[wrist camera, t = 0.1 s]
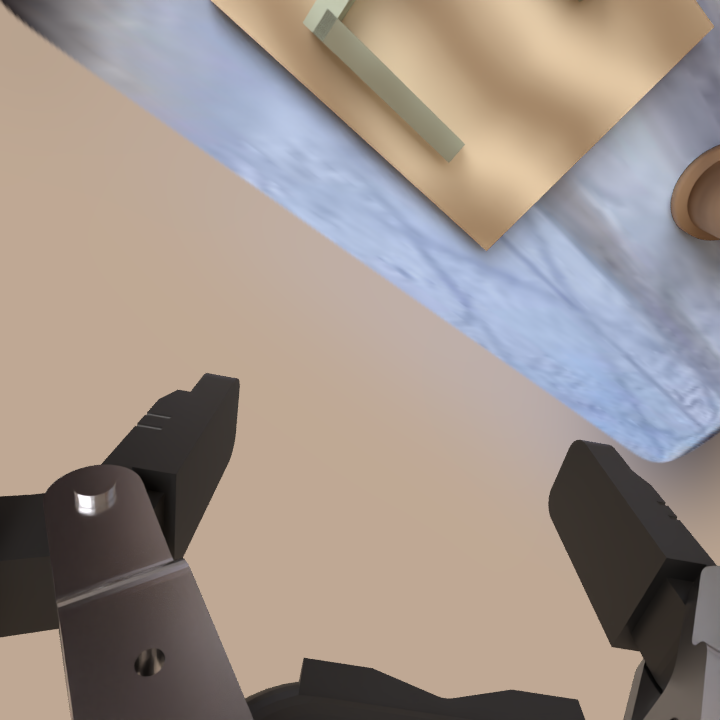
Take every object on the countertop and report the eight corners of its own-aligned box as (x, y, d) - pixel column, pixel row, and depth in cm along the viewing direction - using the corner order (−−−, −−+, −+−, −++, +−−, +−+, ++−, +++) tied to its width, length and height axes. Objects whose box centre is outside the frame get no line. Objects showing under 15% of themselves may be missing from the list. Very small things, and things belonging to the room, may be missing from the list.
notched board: (395, -387, 18) (395, -475, 15) (697, 29, 24) (739, 23, 21) (207, -8, 25) (182, -18, 22) (482, 243, 31) (491, 262, 28)
